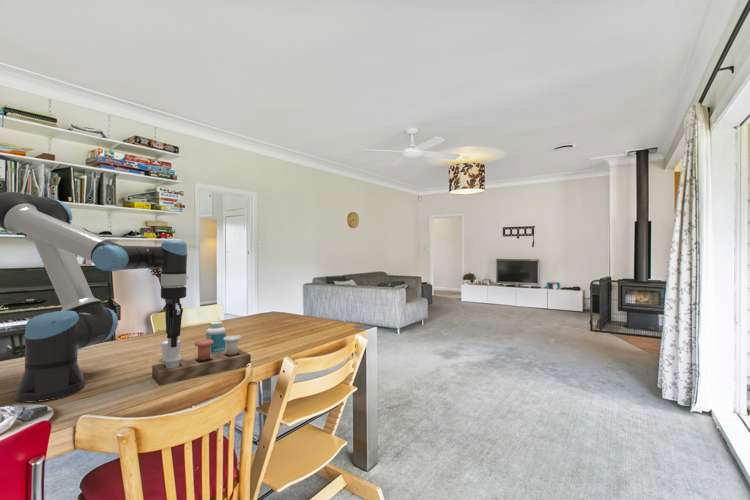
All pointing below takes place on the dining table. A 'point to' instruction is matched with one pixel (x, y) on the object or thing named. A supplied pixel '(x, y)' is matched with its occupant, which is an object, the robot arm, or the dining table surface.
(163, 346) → the light grey flanged plug
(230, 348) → the grey plug right
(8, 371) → the dining table surface
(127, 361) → the dining table surface
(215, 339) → the pill bottle
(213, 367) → the press board
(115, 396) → the dining table surface
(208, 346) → the brick-red plug
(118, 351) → the dining table surface
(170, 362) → the grey plug left
